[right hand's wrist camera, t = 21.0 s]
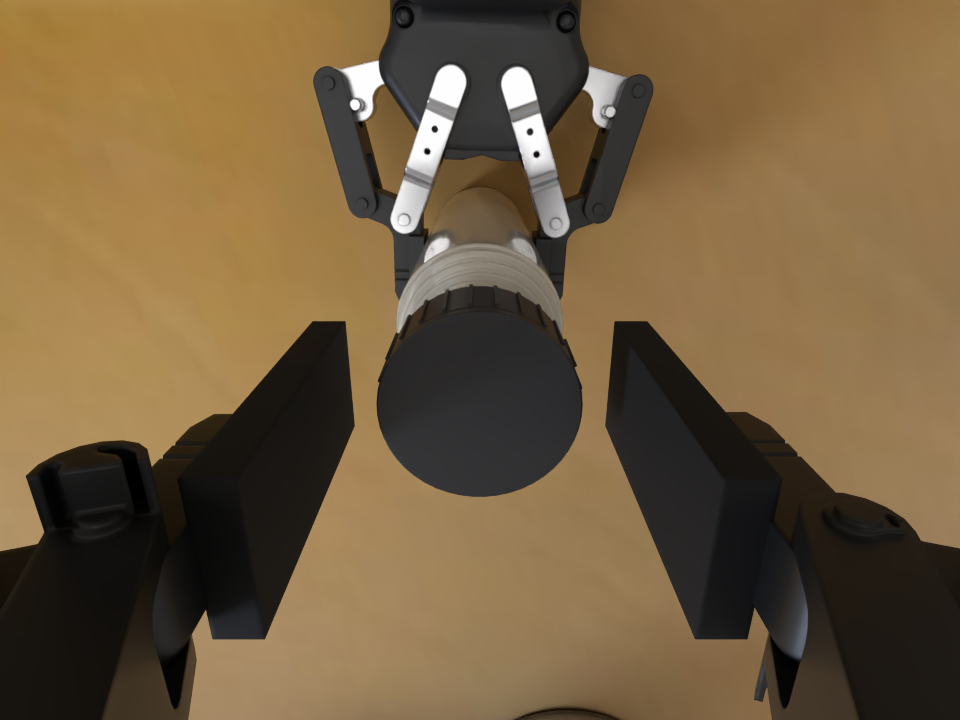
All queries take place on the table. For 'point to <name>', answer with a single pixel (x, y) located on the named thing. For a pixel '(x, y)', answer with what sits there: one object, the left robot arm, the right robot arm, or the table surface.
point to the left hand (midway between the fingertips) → (477, 310)
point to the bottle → (479, 254)
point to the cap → (479, 392)
